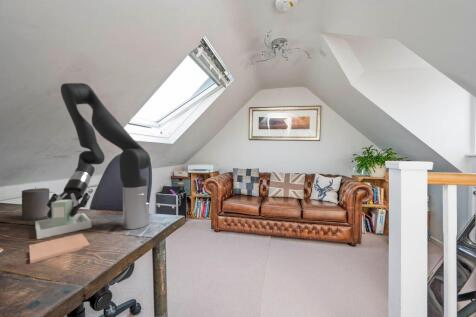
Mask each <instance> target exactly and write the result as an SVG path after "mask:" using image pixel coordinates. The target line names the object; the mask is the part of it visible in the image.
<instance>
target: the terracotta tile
mask: <svg viewBox="0 0 476 317" xmlns="http://www.w3.org/2000/svg"><path fill="white" fill-rule="evenodd" d="M28 246H29V264H34V263H37V262H41V261H44V260H47V259H51V258H54V257H59V256H62V255H66V254H70V253H73V252H77V251H81V250H84V249H88V248H91V244H90V242H89V241H88V239H87V238H86V237H85V236H84V234H83V232H81V233H77V234H73V235H69V236H64V237H60V238H56V239H51V240H46V241H43V242H38V243H32V244H29V245H28Z"/></svg>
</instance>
